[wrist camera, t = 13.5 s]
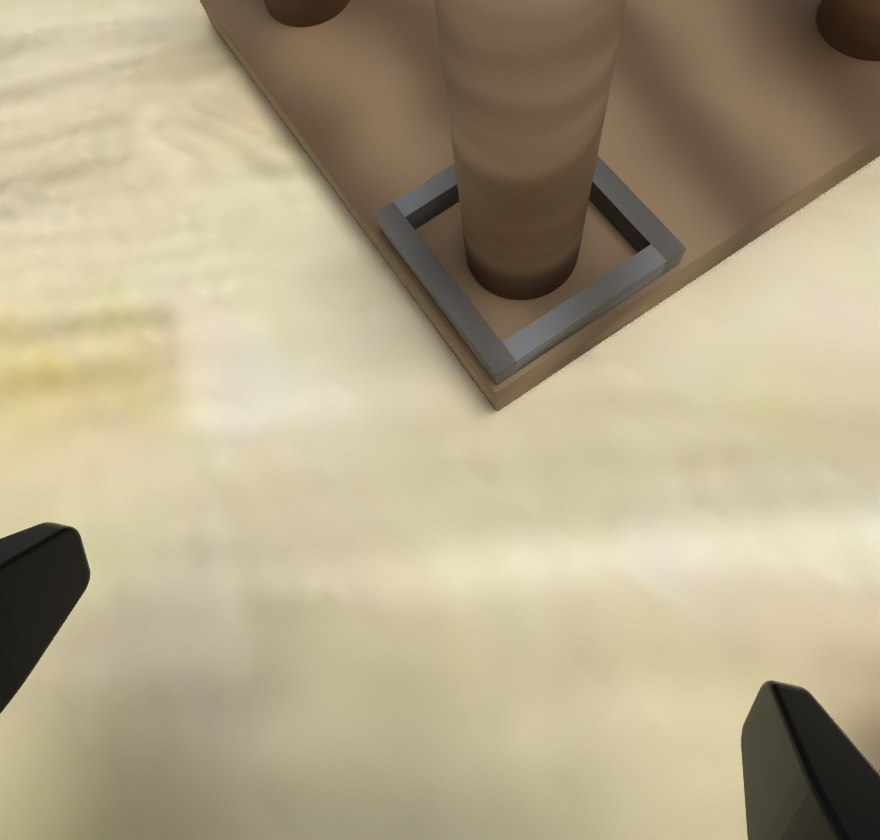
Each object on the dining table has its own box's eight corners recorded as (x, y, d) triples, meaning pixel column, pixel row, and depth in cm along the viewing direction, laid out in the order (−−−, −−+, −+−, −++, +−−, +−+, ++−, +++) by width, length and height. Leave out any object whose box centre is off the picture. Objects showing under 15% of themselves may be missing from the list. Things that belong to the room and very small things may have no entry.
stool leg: (569, 307, 22) (647, -100, 9) (455, 291, 22) (387, -110, 10) (586, 208, 23) (677, -276, 10) (477, 196, 23) (440, -275, 11)
